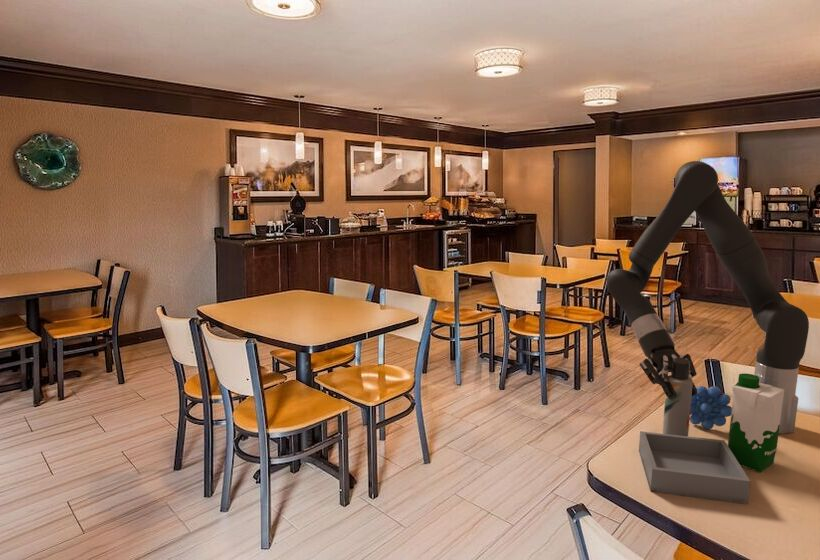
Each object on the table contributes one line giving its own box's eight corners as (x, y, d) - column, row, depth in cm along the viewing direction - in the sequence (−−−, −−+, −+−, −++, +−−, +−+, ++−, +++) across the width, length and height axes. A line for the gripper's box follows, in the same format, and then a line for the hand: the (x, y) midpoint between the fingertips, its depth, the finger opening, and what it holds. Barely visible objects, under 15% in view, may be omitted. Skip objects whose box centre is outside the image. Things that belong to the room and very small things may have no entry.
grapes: (736, 431, 141) (741, 387, 139) (726, 439, 136) (731, 393, 134) (689, 417, 149) (693, 375, 147) (678, 424, 145) (682, 381, 143)
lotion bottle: (686, 433, 137) (692, 356, 133) (689, 443, 131) (696, 364, 128) (661, 429, 138) (667, 354, 135) (663, 440, 133) (669, 361, 129)
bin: (722, 460, 126) (724, 440, 125) (747, 504, 109) (750, 481, 108) (638, 450, 131) (640, 431, 130) (650, 491, 113) (652, 469, 113)
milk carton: (737, 448, 131) (746, 369, 128) (780, 464, 124) (790, 380, 121) (720, 459, 126) (729, 377, 123) (763, 476, 119) (774, 389, 116)
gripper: (636, 330, 135) (668, 393, 126) (683, 325, 139) (717, 386, 130) (621, 345, 141) (650, 406, 132) (666, 340, 145) (698, 399, 136)
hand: (683, 396), depth 131 cm, fingers closed on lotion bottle, 5 cm apart
